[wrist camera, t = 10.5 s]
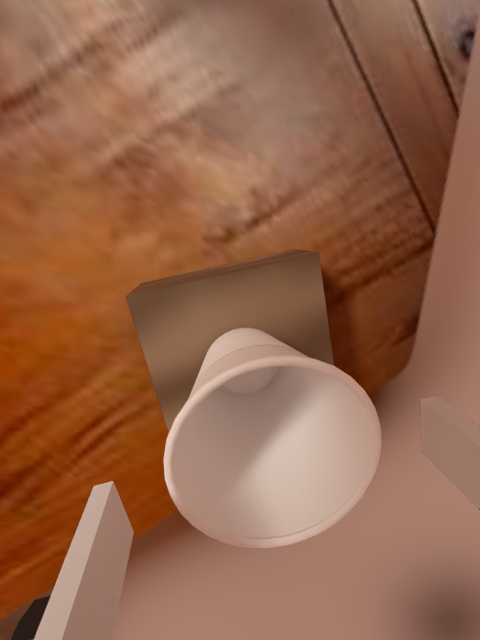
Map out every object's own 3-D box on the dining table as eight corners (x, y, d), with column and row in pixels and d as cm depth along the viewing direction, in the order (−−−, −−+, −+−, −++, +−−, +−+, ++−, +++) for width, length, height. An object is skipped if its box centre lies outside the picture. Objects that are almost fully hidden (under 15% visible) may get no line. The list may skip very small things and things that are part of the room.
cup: (324, 320, 25) (418, 386, 14) (283, 431, 27) (337, 560, 16) (198, 285, 23) (197, 330, 12) (164, 408, 25) (139, 536, 14)
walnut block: (140, 283, 28) (125, 296, 22) (295, 249, 29) (318, 253, 23) (181, 420, 32) (177, 461, 26) (316, 386, 33) (341, 418, 27)
